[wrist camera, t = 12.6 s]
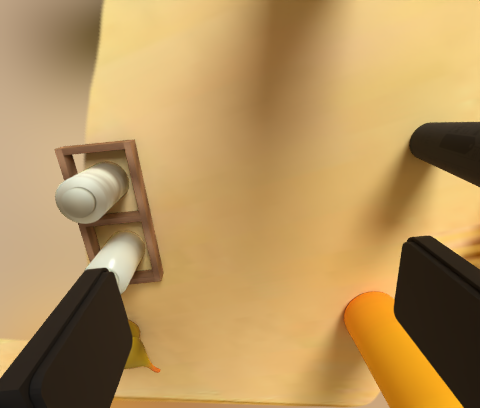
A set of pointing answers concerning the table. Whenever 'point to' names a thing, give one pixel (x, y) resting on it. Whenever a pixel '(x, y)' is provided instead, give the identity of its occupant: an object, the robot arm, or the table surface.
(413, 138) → the drinking cup
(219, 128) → the table surface
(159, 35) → the table surface
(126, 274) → the celadon canister
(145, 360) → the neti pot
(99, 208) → the walnut tray
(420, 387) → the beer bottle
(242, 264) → the table surface
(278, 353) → the table surface
